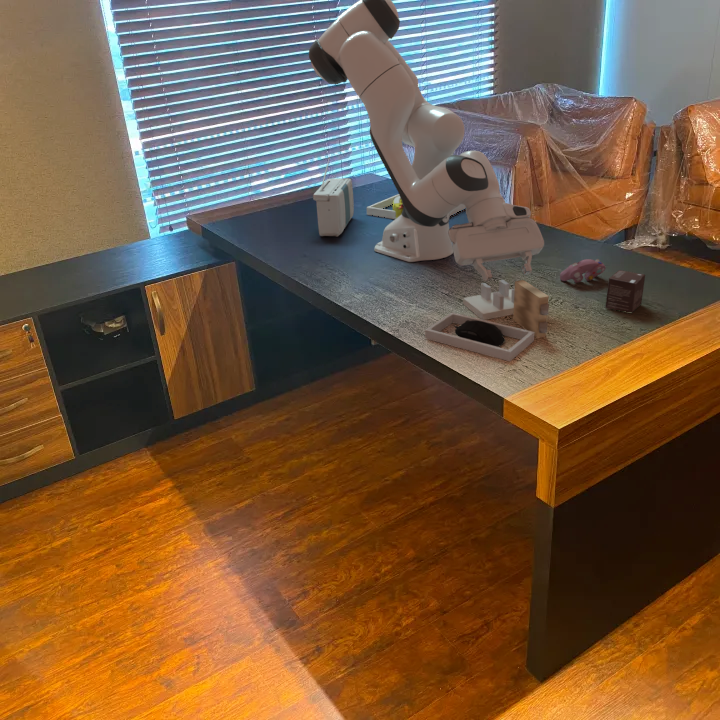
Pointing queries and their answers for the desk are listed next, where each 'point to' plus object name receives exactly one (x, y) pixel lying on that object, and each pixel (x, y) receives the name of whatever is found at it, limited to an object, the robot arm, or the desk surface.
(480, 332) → the gaming mouse
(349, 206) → the stereo radio cassette player
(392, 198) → the white rectangular tray
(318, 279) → the desk surface
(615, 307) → the box
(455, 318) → the mouse tray
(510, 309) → the white slotted stand
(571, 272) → the video game controller
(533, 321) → the tan upright panel
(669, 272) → the desk surface
